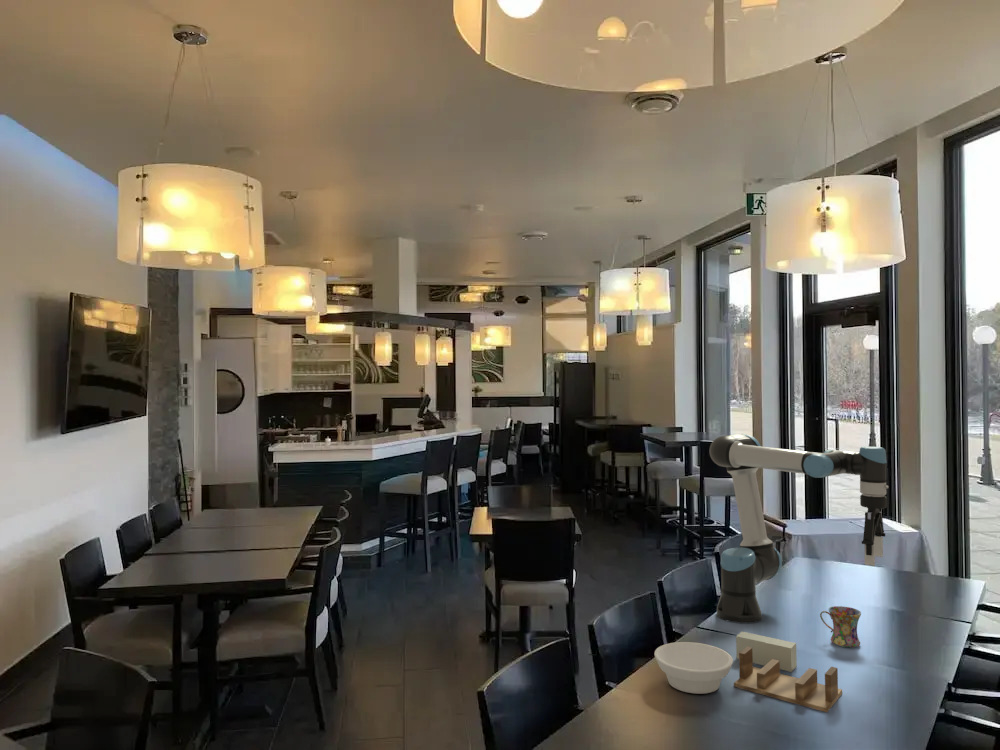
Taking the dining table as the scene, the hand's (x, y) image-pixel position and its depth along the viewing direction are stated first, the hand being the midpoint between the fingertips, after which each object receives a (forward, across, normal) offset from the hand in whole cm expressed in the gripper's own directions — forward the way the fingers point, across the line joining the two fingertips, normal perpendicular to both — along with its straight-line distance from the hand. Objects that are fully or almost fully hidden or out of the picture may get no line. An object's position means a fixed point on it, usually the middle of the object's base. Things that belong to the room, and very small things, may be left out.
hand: (874, 560), depth 221 cm
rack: (+26, -54, +12) cm, 61 cm away
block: (+26, -39, +22) cm, 52 cm away
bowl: (+26, -66, +33) cm, 79 cm away
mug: (+26, -9, +8) cm, 29 cm away
